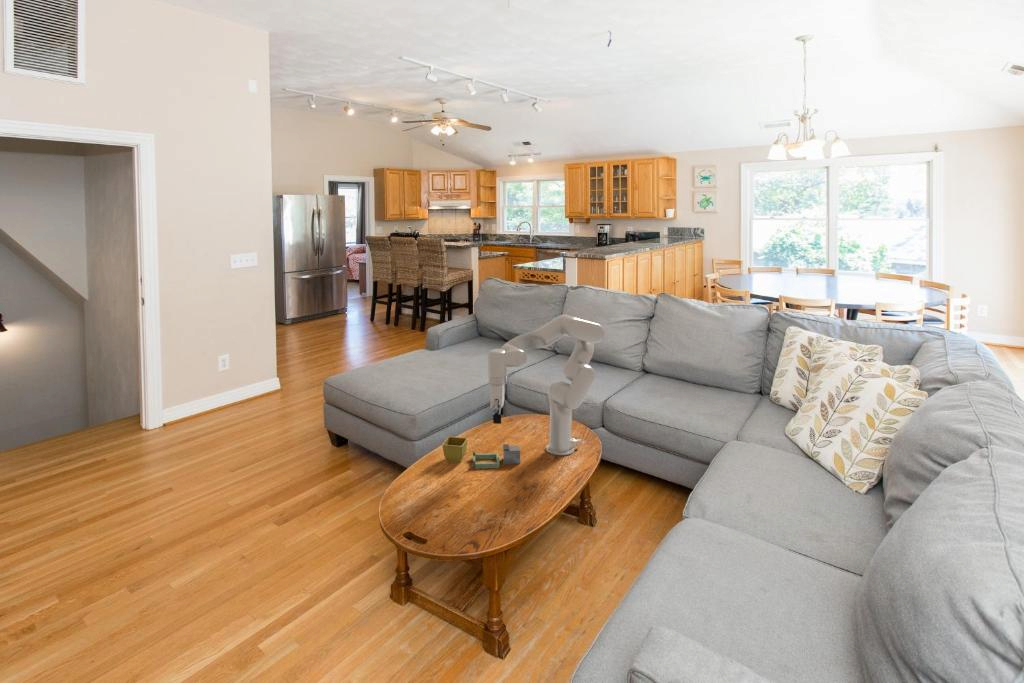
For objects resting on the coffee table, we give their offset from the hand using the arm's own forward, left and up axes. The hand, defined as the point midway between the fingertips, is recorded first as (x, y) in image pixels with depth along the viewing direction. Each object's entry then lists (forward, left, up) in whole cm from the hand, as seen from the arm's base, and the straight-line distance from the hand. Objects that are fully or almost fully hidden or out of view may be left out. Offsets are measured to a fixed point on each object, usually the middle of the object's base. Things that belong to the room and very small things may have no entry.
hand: (498, 418), depth 236 cm
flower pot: (+16, -10, -20) cm, 27 cm away
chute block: (-6, 0, -20) cm, 21 cm away
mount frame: (+5, -3, -20) cm, 21 cm away
